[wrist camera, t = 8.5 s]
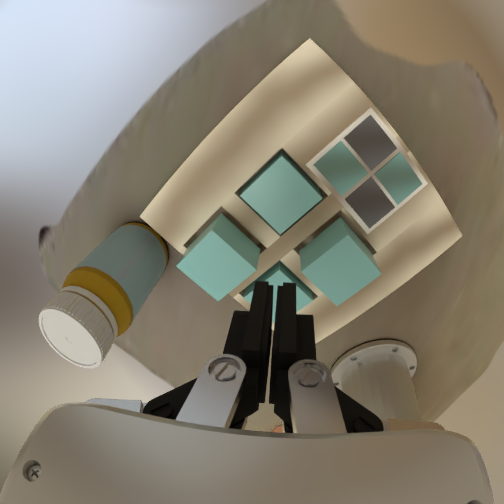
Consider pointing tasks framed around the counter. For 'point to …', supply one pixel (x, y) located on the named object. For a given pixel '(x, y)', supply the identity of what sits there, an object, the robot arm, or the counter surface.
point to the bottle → (104, 294)
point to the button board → (322, 173)
